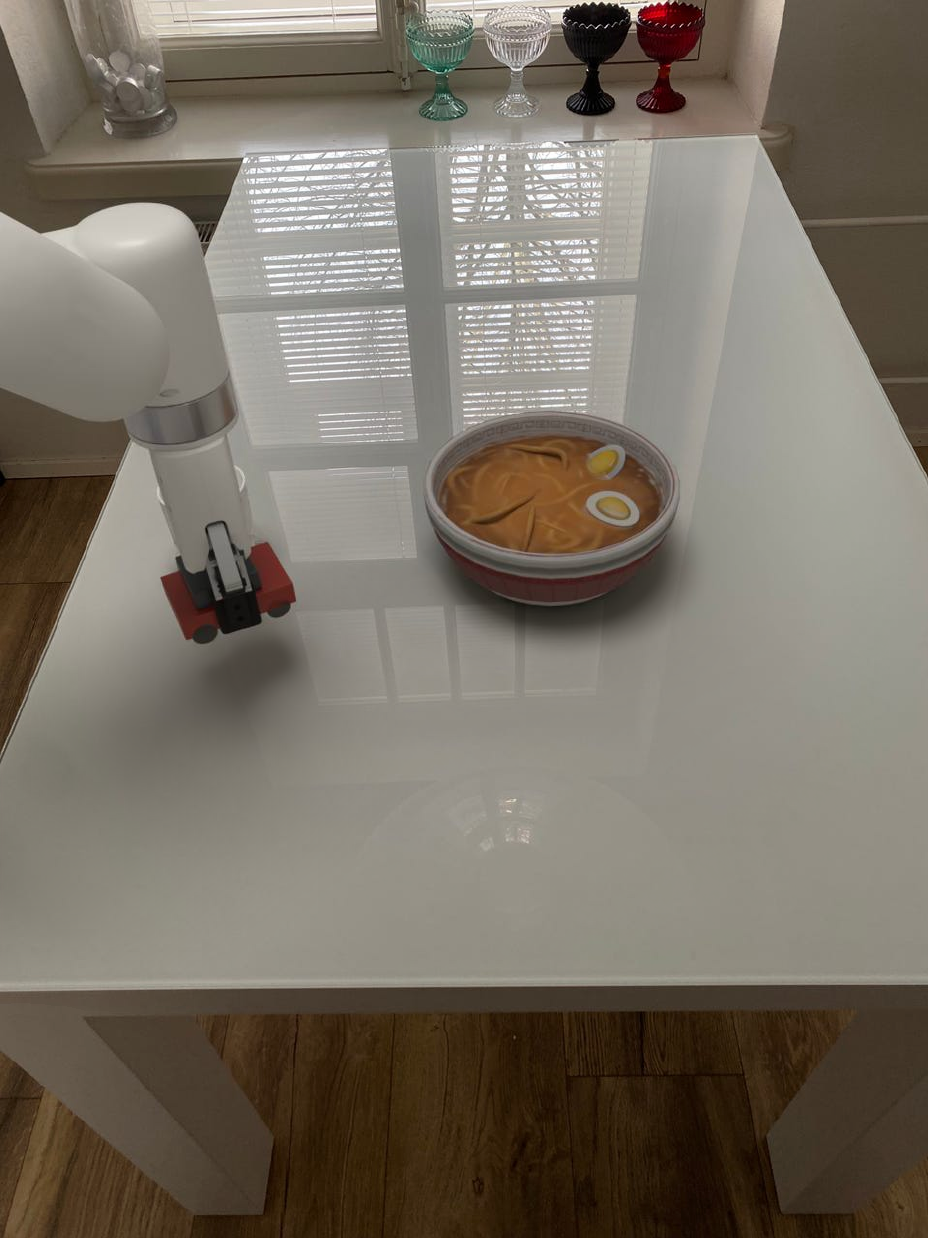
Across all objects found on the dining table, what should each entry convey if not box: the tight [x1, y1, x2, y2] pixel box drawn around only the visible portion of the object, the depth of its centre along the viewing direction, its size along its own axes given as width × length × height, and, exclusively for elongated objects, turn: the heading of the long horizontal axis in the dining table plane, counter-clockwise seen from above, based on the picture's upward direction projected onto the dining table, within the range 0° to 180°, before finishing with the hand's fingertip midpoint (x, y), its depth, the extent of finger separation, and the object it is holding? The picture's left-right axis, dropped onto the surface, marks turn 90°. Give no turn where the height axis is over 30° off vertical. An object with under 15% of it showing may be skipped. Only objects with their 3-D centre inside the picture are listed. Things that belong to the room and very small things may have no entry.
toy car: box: [159, 541, 297, 645], centre depth 76 cm, size 9×5×6 cm
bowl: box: [422, 410, 681, 607], centre depth 89 cm, size 23×23×10 cm
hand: (232, 597), depth 77 cm, fingers closed on toy car, 6 cm apart
